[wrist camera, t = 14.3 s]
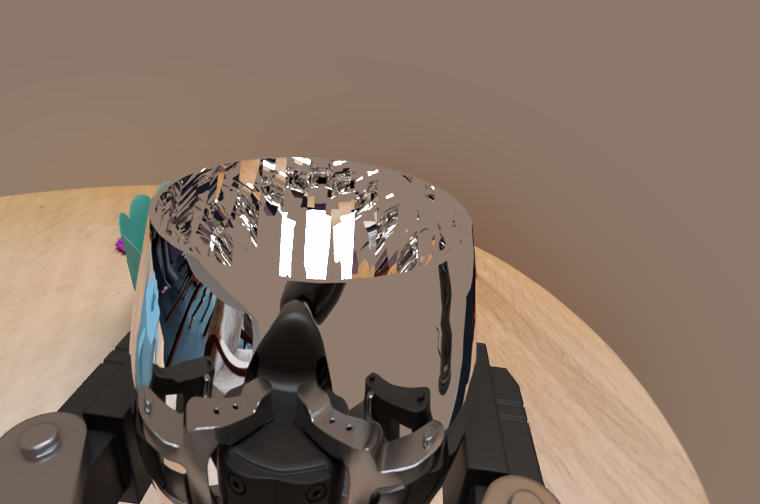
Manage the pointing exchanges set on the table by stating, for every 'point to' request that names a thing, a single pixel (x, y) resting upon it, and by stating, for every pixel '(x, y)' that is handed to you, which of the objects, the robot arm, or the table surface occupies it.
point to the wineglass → (302, 334)
